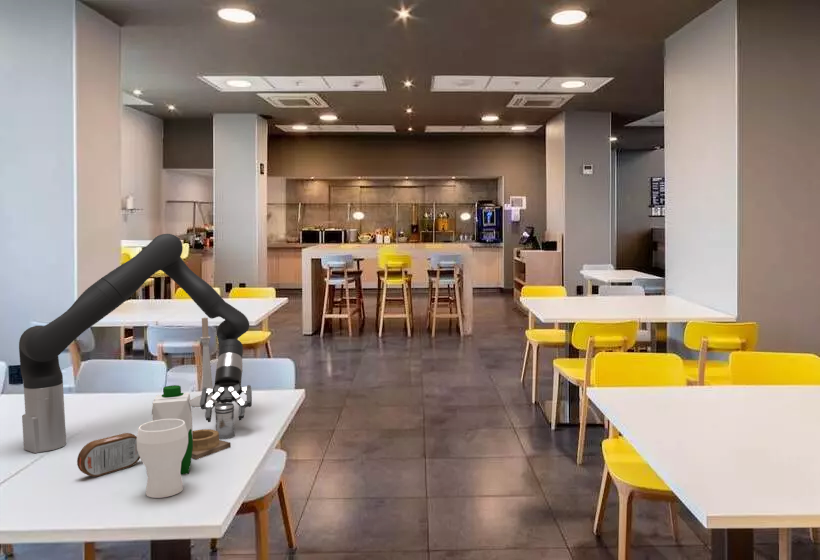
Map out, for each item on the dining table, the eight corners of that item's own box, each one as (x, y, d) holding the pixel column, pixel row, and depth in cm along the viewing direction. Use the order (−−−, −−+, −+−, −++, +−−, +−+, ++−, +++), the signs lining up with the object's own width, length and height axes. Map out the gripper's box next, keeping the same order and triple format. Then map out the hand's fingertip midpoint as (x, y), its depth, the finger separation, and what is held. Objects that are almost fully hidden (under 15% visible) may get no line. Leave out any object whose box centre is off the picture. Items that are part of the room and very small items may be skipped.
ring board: (196, 459, 155) (195, 444, 155) (169, 452, 161) (168, 437, 161) (230, 446, 165) (230, 432, 164) (203, 440, 171) (203, 426, 170)
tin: (139, 460, 156) (138, 428, 155) (145, 463, 154) (144, 430, 153) (77, 479, 144) (75, 444, 143) (83, 482, 142) (81, 447, 141)
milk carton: (195, 461, 154) (191, 383, 153) (192, 474, 145) (188, 392, 144) (157, 465, 152) (154, 386, 150) (152, 479, 143) (148, 395, 142)
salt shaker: (224, 440, 170) (223, 408, 170) (212, 437, 173) (210, 406, 172) (239, 435, 175) (237, 404, 174) (226, 432, 177) (225, 402, 177)
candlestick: (186, 400, 214) (183, 315, 212) (224, 396, 220) (221, 313, 218) (190, 409, 203) (186, 320, 201) (230, 404, 208) (226, 317, 206)
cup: (196, 481, 141) (193, 417, 140) (181, 500, 131) (178, 431, 130) (150, 482, 141) (147, 418, 140) (130, 502, 130) (127, 433, 129)
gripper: (202, 365, 179) (196, 415, 169) (252, 363, 181) (248, 411, 171) (206, 379, 185) (200, 428, 174) (254, 377, 187) (251, 425, 176)
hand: (224, 420), depth 173 cm, fingers open, 8 cm apart
